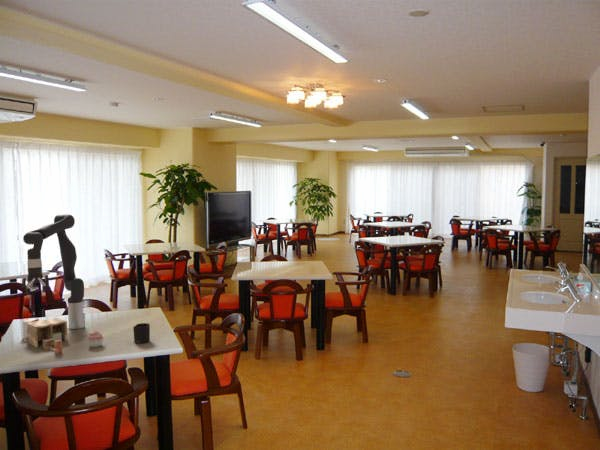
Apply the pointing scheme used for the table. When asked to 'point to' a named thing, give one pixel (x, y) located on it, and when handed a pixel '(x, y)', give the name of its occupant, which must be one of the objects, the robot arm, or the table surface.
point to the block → (57, 335)
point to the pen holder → (141, 333)
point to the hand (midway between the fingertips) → (36, 293)
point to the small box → (26, 326)
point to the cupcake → (95, 339)
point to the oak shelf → (45, 330)
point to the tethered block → (53, 345)
